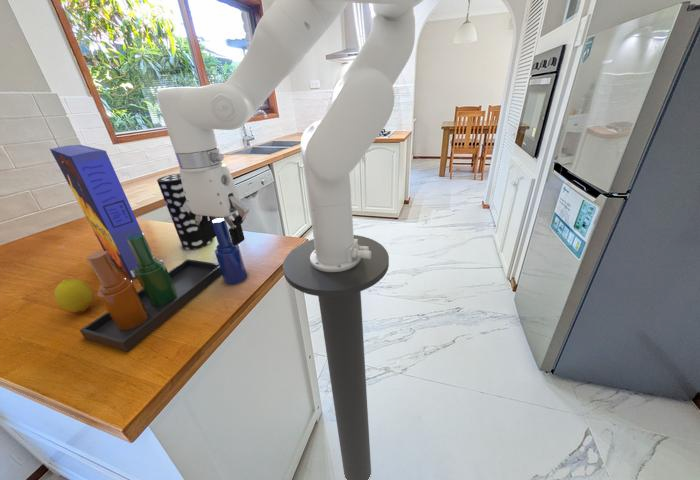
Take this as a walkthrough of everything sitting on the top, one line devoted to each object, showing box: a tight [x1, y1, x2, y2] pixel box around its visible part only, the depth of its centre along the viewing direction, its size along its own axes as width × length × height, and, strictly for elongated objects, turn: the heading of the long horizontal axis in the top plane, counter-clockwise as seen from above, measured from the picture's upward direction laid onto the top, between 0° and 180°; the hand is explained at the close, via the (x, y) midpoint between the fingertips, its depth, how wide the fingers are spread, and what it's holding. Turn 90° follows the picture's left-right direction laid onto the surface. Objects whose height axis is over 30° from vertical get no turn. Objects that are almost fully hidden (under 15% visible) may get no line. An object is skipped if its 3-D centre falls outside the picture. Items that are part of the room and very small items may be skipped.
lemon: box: [53, 278, 95, 313], centre depth 59 cm, size 6×6×8 cm
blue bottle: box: [211, 217, 248, 286], centre depth 65 cm, size 5×5×15 cm
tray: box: [79, 258, 222, 353], centre depth 62 cm, size 11×25×2 cm, turn 161°
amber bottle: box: [86, 250, 149, 331], centre depth 53 cm, size 5×5×15 cm
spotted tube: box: [156, 172, 214, 251], centre depth 82 cm, size 8×8×20 cm
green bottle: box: [127, 232, 177, 306], centre depth 59 cm, size 5×5×15 cm
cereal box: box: [49, 144, 143, 280], centre depth 72 cm, size 22×6×30 cm, turn 51°
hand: (224, 240), depth 64 cm, fingers open, 7 cm apart
